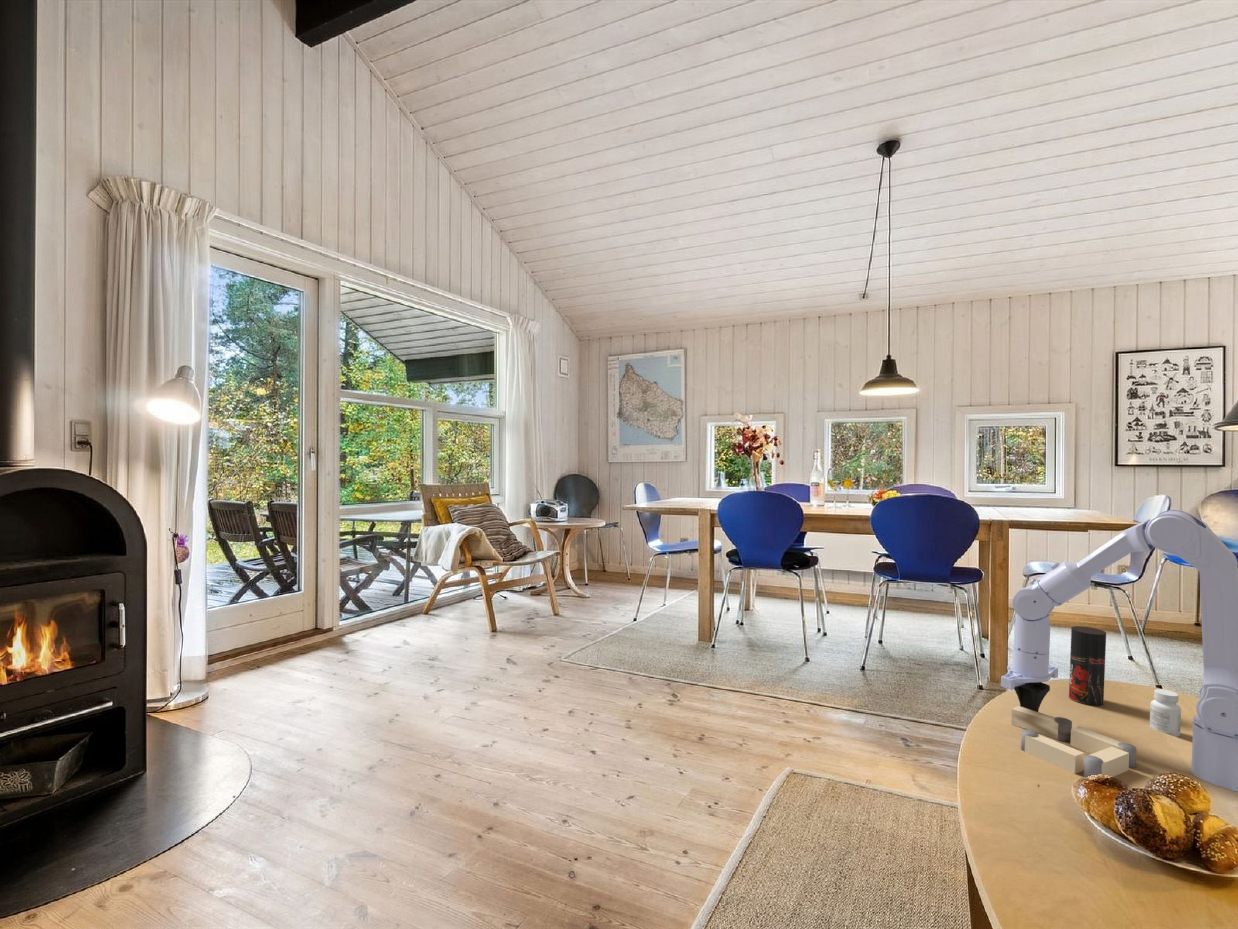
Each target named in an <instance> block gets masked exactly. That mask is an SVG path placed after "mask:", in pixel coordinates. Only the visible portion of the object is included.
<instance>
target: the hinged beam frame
mask: <svg viewBox="0 0 1238 929" xmlns="http://www.w3.org/2000/svg"><path fill="white" fill-rule="evenodd" d="M1020 735H1021V738H1020V739H1021V740H1020V749H1021V751H1023V752H1024V753H1026V754H1028V755H1031V756H1034V757H1036V758H1038V759H1041V760H1042V761H1044V762H1047V763H1049V764H1052V765H1054V766H1056V767H1059V768H1060V769H1063V770H1064V771H1066V772H1067V771H1068V772H1070V773H1072V774H1074V775H1075V774H1078V773H1080V772H1083V778H1085V777H1088V776H1091V775H1098V774H1102V775H1108V776H1112V778H1113V777H1117V776H1119V775H1122V774H1124V773H1127V772H1129V769H1136V764H1137V747H1136V746H1135V745H1132V744H1131V743H1127V742H1123V741H1119V740H1118V739H1115V738H1112V737H1109V736H1107V735H1104V734H1101V733H1098V732H1096V731H1093V730H1090V729H1088V728H1085V727H1083V726H1080V725H1079V726H1076V727H1072V729H1071V742H1069V744H1070V746H1072V747H1070V746H1068V745H1067V744H1063V743H1061V742H1059V741H1058V740H1055V739H1052V738H1050V737H1047V736H1045V735H1042V734H1039V733H1036V732H1034V731H1031V730H1027V729H1021V734H1020ZM1074 747H1075V748H1074ZM1076 748H1077V749H1076ZM1078 749H1080V750H1078ZM1083 751H1084V752H1083ZM1085 752H1087V753H1089V754H1085Z"/></svg>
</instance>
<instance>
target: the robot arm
mask: <svg viewBox="0 0 1238 929" xmlns="http://www.w3.org/2000/svg"><path fill="white" fill-rule="evenodd" d="M1154 548H1156V549H1157V550H1160V551H1163V552H1165V553H1167V554H1170V555H1172V556H1176V557H1178V558H1180V559H1182V560H1183V561H1184V562H1186V563H1187V564H1188V565H1190V566H1192V567H1193V569H1196V570H1197V571H1198V572H1199V573H1198V574H1199V591H1200V592H1199V594H1200V610H1201V611H1200V613H1201V614H1200V616H1201V636H1202V637H1201V638H1202V659H1203V660H1202V661H1203V680H1202V683H1203V684H1202V686H1201V687H1200V689H1199V698H1198V701H1197V703H1196V705H1195V709H1196V713H1197V714H1196V715H1195V716H1193V719H1192V720H1193V723H1192V724H1193V725H1192V743H1191V761H1190V762H1191V765H1190V767H1191V768H1190V770H1191V771H1190V772H1191V773H1192V774H1193V775H1194V776H1195V777H1197V778H1198V779H1200V780H1202V781H1204V782H1207V783H1209V784H1212V785H1214V786H1217V787H1219V788H1220V787H1221V788H1224V789H1227V790H1230V791H1234V792H1236V793H1238V559H1237V557H1236V555H1235V554H1234V553H1233V551H1231V550H1230V549H1229V547H1228V546H1227V545H1226V544H1225V543H1224V542H1223V541H1222V540H1221V539H1220V538H1219V537H1218V535H1216V534H1215V532H1214V531H1213V530H1212V529H1211V528H1210V527H1209V525H1208V523H1206V522H1205V521H1203V520H1201V519H1199V518H1198V517H1196V516H1194V515H1192V514H1190V513H1189V512H1187V511H1184V510H1180V509H1168V510H1164V511H1162V512H1160V513H1158V514H1157V515H1155V516H1153V517H1152V518H1149V519H1146V520H1144V521H1142V522H1140V523H1137V524H1135V525H1134V526H1131V527H1129V528H1127V529H1125V530H1123V531H1122V532H1120V533H1118V534H1117V535H1116V536H1114V537H1112V538H1111V539H1110V540H1108V541H1107V542H1106V543H1104V544H1102V545H1101V546H1100V547H1098V548H1097V549H1095V550H1094V551H1092V552H1091V553H1089V554H1088V555H1086V556H1085V557H1084V558H1082V559H1081V560H1079V561H1077V562H1074V561H1068V560H1067V561H1062V563H1059V562H1055V563H1053V564H1052V565H1051V566H1050V569H1051V570H1049V571H1048V572H1046V573H1045V574H1043V575H1042V576H1041V577H1039V578H1037V579H1036V578H1032V579H1031V580H1029V581H1028V584H1029V585H1027V586H1025V587H1024V588H1021V589H1019V590H1018V591H1017V592H1016V593H1015V594H1014V596H1013V598H1012V602H1011V604H1012V608H1013V610H1014V612H1015V615H1014V616H1015V622H1014V625H1013V626H1014V632H1013V655H1012V656H1013V657H1012V660H1013V661H1012V664H1008V665H1007V668H1006V670H1008V672H1007V673H1006V674H1004V675H1001V678H1000V687H1001V688H1005V689H1008V690H1009V691H1013V690H1014V691H1015V693H1016V695H1017V699H1018V702H1019V706H1020V707H1023V708H1027V709H1030V710H1033V711H1036V712H1039V711H1040V710H1039V709H1040V706H1041V704H1042V702H1043V700H1044V698H1045V697H1046V696H1047V694H1048V693H1049V692H1050V690H1051V686H1050V685H1049V684H1047V683H1046V682H1049V681H1050V680H1051V678H1053V679H1058V677H1059V667H1056V666H1053V665H1050V648H1051V646H1050V645H1051V640H1050V639H1051V627H1050V623H1051V622H1050V620H1051V615H1050V613H1051V612H1053V610H1054V608H1055V607H1060V606H1063V605H1064V604H1065V603H1067V602H1069V601H1070V600H1072V599H1074V598H1075V597H1076V596H1078V595H1080V594H1081V593H1084V591H1086V590H1088V589H1090V588H1091V585H1092V584H1091V582H1092V577H1093V576H1095V575H1096V574H1097V573H1099V572H1101V571H1102V570H1104V569H1106V568H1108V567H1109V566H1111V565H1113V564H1115V563H1116V562H1118V561H1119V560H1121V559H1124V558H1125V557H1127V556H1128V555H1130V554H1131V553H1144V552H1152V551H1153V550H1154Z"/></svg>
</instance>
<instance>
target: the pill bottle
mask: <svg viewBox="0 0 1238 929" xmlns="http://www.w3.org/2000/svg"><path fill="white" fill-rule="evenodd" d="M1153 694H1154V695H1153V698H1154V699H1152V700H1151V702H1150V703H1149V704H1150V706H1149V707H1150V708H1149V709H1150V710H1149V728H1150V729H1152V730H1155V731H1157V732H1159V733H1163V734H1166V735H1169V736H1172V737H1175V738H1178V737H1180V736H1181V724H1182V723H1181V722H1182V720H1181V719H1182V708H1181V707H1180V705H1179V704H1178V703H1179V694H1178V693H1177V692H1175V691H1171V690H1169V689H1163V688H1162V689H1161V688H1156V689H1154V693H1153Z"/></svg>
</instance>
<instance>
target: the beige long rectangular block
mask: <svg viewBox="0 0 1238 929" xmlns="http://www.w3.org/2000/svg"><path fill="white" fill-rule="evenodd" d="M1011 725H1012V726H1016V727H1018V728H1022V729H1023V730H1031V731H1034V732H1036V733H1037V734H1039V735H1042V736H1044V737H1047V738H1050V739H1053V740H1056V741H1061V742H1064V743H1071V729H1072V728H1073V721H1072V720H1070V719H1068V718H1067V717H1062V716H1056V717H1055V716H1053V715H1049V714H1045V713H1042V712H1040V711H1038V712H1036V711H1033V710H1030V709H1027V708H1023V707H1020V705H1016V706H1015V707H1014V706H1013V708H1011Z"/></svg>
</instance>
